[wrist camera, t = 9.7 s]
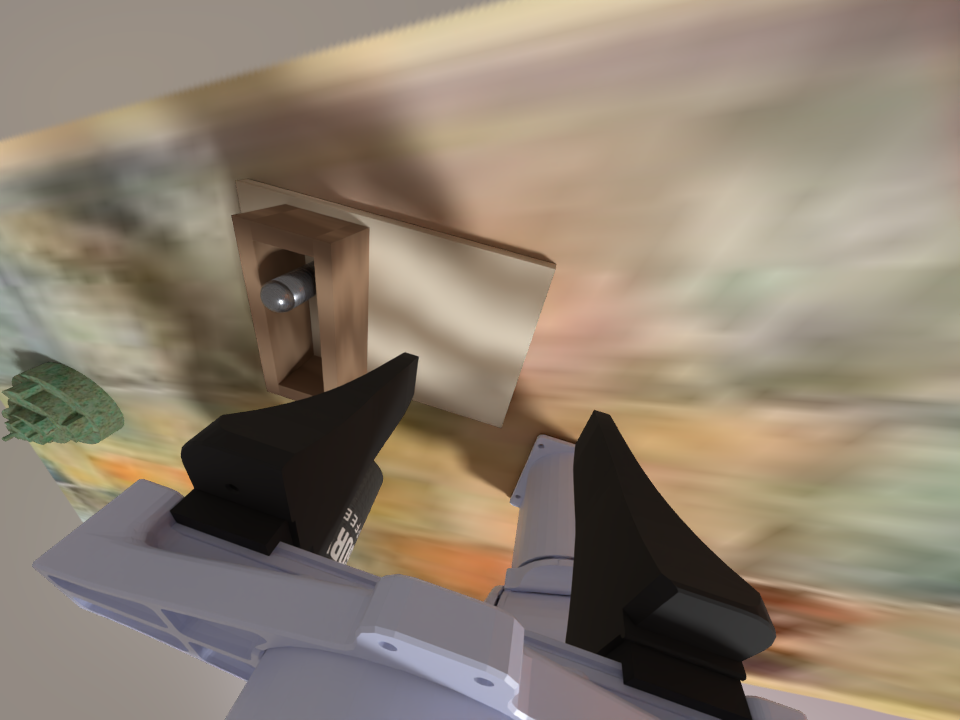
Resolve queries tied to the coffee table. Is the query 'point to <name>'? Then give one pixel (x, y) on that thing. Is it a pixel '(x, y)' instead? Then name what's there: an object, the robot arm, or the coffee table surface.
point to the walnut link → (340, 298)
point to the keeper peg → (289, 289)
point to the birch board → (437, 305)
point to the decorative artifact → (59, 407)
